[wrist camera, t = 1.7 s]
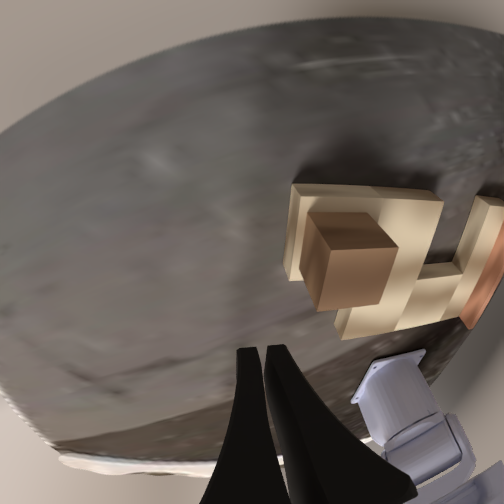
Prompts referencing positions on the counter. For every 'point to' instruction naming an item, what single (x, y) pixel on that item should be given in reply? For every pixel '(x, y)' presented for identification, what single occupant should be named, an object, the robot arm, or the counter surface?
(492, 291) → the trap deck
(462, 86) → the counter surface
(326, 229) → the walnut cube
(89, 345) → the counter surface
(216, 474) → the robot arm
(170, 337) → the counter surface
